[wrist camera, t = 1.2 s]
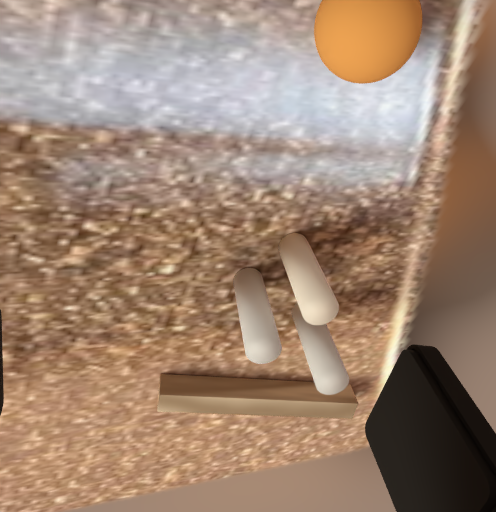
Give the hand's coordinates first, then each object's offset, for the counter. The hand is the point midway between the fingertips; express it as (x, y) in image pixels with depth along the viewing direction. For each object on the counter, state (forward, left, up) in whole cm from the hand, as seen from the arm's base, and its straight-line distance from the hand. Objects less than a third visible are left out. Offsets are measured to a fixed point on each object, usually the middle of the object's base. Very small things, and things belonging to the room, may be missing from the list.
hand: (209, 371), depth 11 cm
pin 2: (+14, +12, -24) cm, 30 cm away
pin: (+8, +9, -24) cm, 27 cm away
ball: (-8, +9, -21) cm, 24 cm away
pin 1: (+12, +6, -24) cm, 27 cm away
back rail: (+23, +9, -24) cm, 35 cm away
